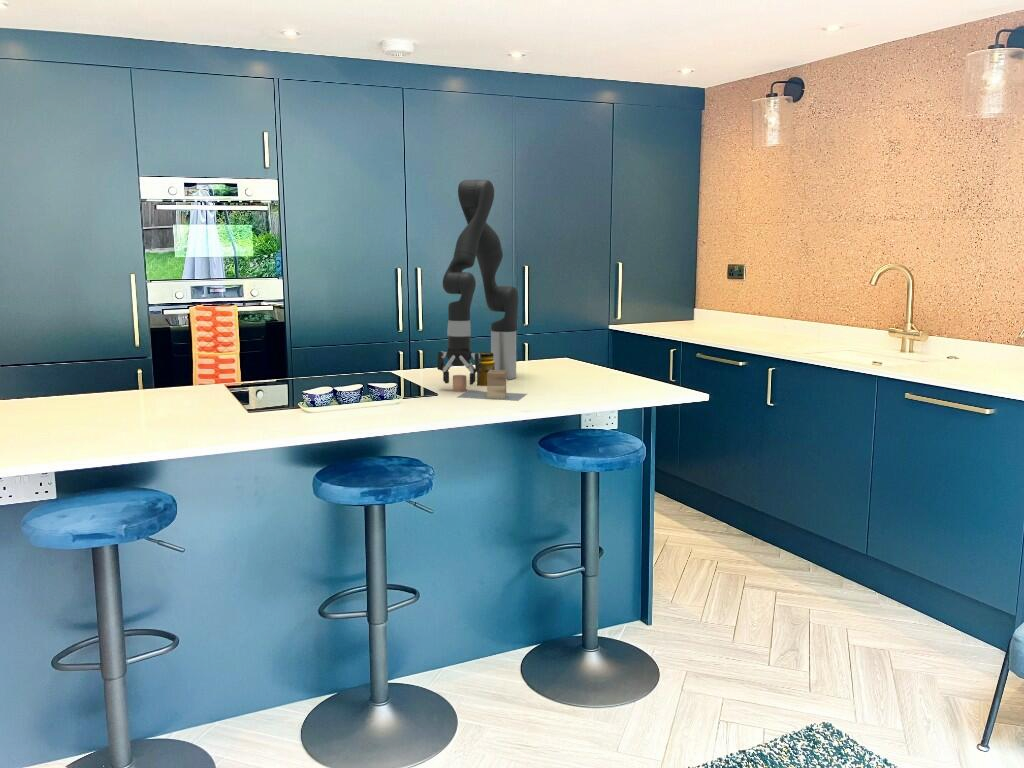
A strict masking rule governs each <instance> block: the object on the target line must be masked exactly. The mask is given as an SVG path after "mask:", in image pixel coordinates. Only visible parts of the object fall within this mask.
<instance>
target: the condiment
mask: <svg viewBox="0 0 1024 768" xmlns="http://www.w3.org/2000/svg"><path fill="white" fill-rule="evenodd" d="M479 353H480V356H481V370H480V371H478V372H476V385H474V384H473V385H471V386H477V387H479V386H480V387H481V386H482V387H487V372H488V371H489V370H495V362H494V360H493V359H494V358H493V356H494V355H493V353H491V352H489V351H488V352H487V351H486V352H485V351H484V352H482V351H481V352H479Z"/></svg>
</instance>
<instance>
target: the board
mask: <svg viewBox="0 0 1024 768" xmlns="http://www.w3.org/2000/svg"><path fill="white" fill-rule="evenodd" d="M527 395H528V393H518V392H517V393H516V392H506V397H505V399H492V400H493V401H494V400H497V401H515V402H516V401H517V402H519V401H520V400H522V399H524V398H525V396H527ZM457 398H462V399H475V400H476V399H477V400H490V399H489V398H487V391H483V390H482V391H481V390H479V391H478V390H466V391H464V393H462V394H459V395H457Z"/></svg>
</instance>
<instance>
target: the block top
mask: <svg viewBox="0 0 1024 768" xmlns="http://www.w3.org/2000/svg"><path fill="white" fill-rule="evenodd" d="M506 377H507V371H500V370H489V371H488V372H487V386H505V385H506V386H507V379H506ZM487 386H486V387H487Z"/></svg>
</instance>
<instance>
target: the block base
mask: <svg viewBox="0 0 1024 768" xmlns="http://www.w3.org/2000/svg"><path fill="white" fill-rule="evenodd" d="M486 392H487V398H489V399H488V400H493V399H505V397H506V393H507V384H506V385H505V386H486Z"/></svg>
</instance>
